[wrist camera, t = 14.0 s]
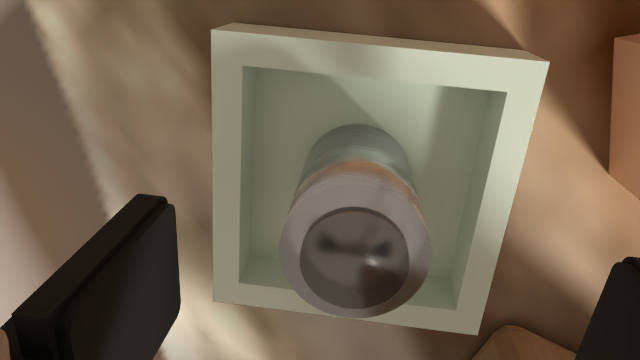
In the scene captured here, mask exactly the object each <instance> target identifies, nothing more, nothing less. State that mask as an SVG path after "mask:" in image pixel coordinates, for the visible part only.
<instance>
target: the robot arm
mask: <svg viewBox="0 0 640 360" xmlns="http://www.w3.org/2000/svg"><path fill="white" fill-rule="evenodd" d="M180 304H181V299H180V282H179V266H178V249H177V233H176V216H175V208H174V205H172V204H168V202H167V199H166V198H165V197H162V196H154V195H147V194H137V195H136V196H135V197H134V198H133V199H132V200H130V201H129V202H128V203H127V204H126V205H125V206H124V207H123V208H122V209H121V210H120V211H119V212H118V213H117V214H116V215H115V216H114V217H113V218H112V219H111V220H109V221H108V222H107V223H106V224H105V225H104V226H103V227H102V228H101V229H100V230H99V231H98V232H97V233H96V234H95V235H94V236H93V237H92V238H91V239H90V240H89V241H87V242H86V243H85V244H84V245H83V246H82V247H81V248H80V249H79V250H78V251H77V252H76V253H75V254H74V255H73V256H72V257H71V258H70V259H69V260H67V261H66V262H65V263H64V264H63V265H62V266H61V267H60V268H59V269H58V270H57V271H56V272H55V273H54V274H53V275H52V276H51V277H50V278H49V279H48V280H46V281H45V282H44V283H43V284H42V285H41V286H40V287H39V288H38V289H37V290H36V291H35V292H34V293H33V294H32V295H31V296H30V297H29V298H28V299H27V300H25V302H23V303H22V304H21V305H20V306H19V307H18V308H17V309H16V310H15V311H14V312H13V313H12V317H11V318H10V319H9V320H8V321H7V322H6V323H5V324H4V325H3V326H2V327H1V328H0V360H153V358H154V356H155V354H156V353H157V351H158V349H159V348H160V346H161V344H162V342H163V341H164V339H165V337H166V335H167V334H168V332H169V330H170V329H171V327H172V325H173V323H174V322H175V320H176V318H177V316H178V313H179V310H180ZM575 360H640V258H637V257H626V258H625V259H624V260H623V261H622V263H621V262H618V263H615V264H614V265H613V267H612V269H611V272H610V274H609V276H608V279H607V281H606V284H605V286H604V289H603V291H602V294H601V296H600V298H599V301H598V303H597V306H596V308H595V311H594V313H593V316H592V318H591V320H590V323H589V325H588V328H587V330H586V333H585V335H584V338H583V340H582V343H581V345H580V347H579V350H578V352H577V355H576V357H575Z"/></svg>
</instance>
